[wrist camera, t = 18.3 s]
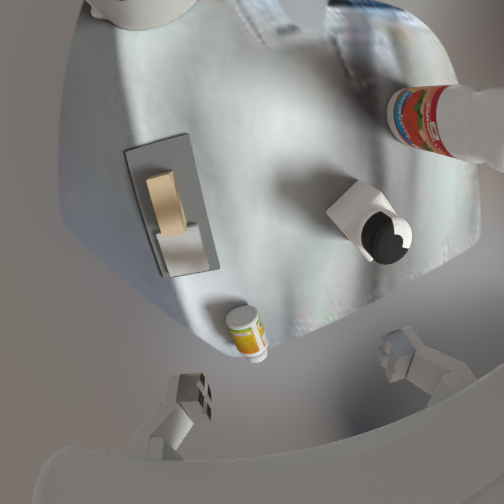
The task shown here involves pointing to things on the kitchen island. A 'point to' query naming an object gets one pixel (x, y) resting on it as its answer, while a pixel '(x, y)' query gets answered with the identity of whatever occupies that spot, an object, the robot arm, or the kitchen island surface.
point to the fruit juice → (451, 121)
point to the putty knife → (175, 228)
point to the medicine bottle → (371, 224)
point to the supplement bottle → (248, 332)
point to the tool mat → (183, 165)
